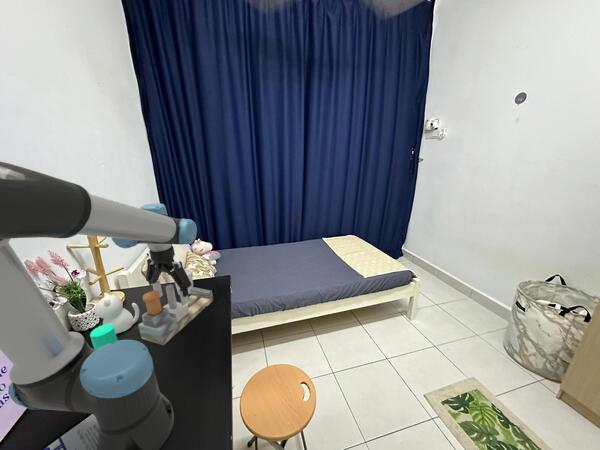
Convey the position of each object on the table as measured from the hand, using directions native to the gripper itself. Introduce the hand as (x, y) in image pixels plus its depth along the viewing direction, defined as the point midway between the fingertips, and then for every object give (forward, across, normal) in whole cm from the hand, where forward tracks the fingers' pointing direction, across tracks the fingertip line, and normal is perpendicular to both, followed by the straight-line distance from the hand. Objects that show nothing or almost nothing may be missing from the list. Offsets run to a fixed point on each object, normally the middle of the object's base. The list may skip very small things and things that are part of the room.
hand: (172, 300), depth 93 cm
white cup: (+10, +12, -18) cm, 24 cm away
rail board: (+10, 0, -2) cm, 10 cm away
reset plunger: (0, 0, +8) cm, 8 cm away
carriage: (+7, 0, 0) cm, 7 cm away
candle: (+10, +8, +20) cm, 24 cm away
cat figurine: (+10, +17, +9) cm, 22 cm away
